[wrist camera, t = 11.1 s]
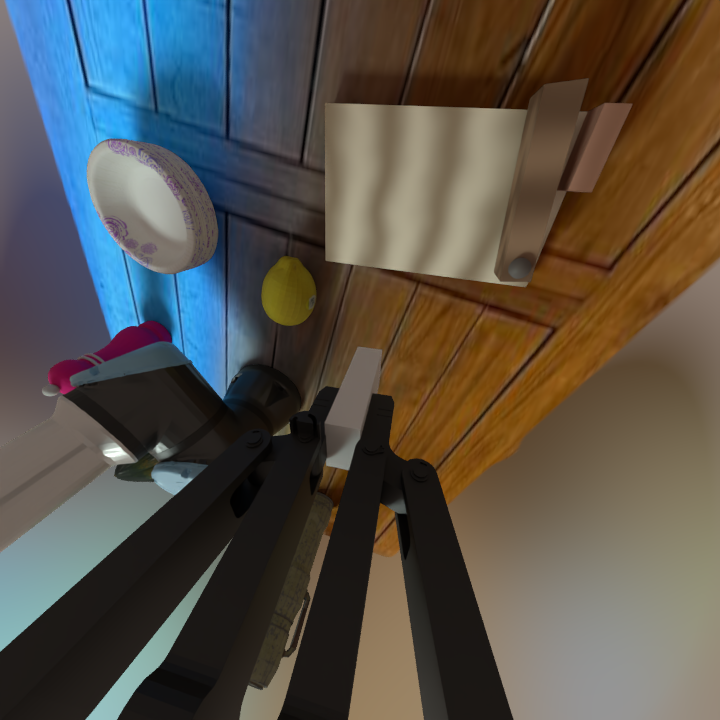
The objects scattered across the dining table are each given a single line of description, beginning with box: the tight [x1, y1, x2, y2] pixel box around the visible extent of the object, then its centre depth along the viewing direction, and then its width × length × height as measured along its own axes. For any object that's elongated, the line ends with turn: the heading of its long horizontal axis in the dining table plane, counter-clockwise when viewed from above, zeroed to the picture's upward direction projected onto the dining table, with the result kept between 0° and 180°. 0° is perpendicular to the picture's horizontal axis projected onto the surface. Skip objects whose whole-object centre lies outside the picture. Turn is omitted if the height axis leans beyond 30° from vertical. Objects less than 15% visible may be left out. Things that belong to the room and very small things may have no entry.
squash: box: [114, 452, 159, 482], centre depth 73 cm, size 14×15×15 cm
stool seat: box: [325, 103, 633, 287], centre depth 30 cm, size 27×16×6 cm, turn 87°
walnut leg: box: [494, 78, 589, 282], centre depth 26 cm, size 16×3×5 cm, turn 4°
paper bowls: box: [87, 139, 218, 274], centre depth 37 cm, size 15×15×8 cm
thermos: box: [248, 492, 333, 690], centre depth 63 cm, size 9×12×35 cm
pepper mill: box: [42, 321, 172, 396], centre depth 48 cm, size 7×7×20 cm
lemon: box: [261, 256, 316, 326], centre depth 39 cm, size 11×8×8 cm
